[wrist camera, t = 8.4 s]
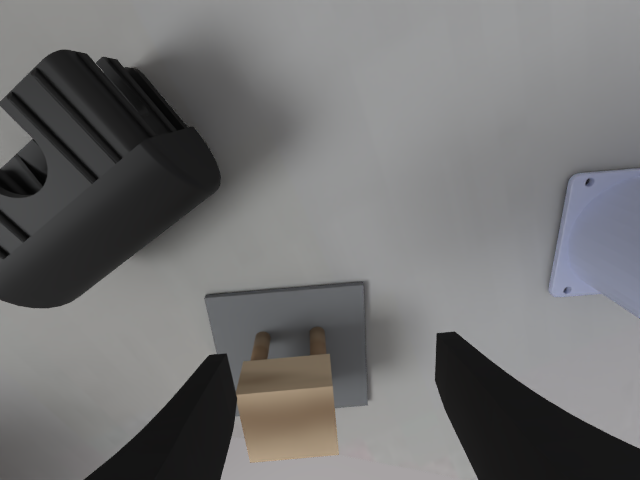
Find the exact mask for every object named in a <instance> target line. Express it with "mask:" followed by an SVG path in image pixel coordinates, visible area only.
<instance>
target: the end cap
mask: <svg viewBox="0 0 640 480" xmlns="http://www.w3.org/2000/svg"><path fill="white" fill-rule="evenodd" d="M96 64H97V65H98V66H99V67H100V68H101V69H102V71H103V72H104V73H103V72H102V71H101V69H100V68H99V67H98V66H97V65H96ZM96 64H95V62H94V61H93V60H92V59H91V58H90V57H89V56H88V54H85V53H81V52H76V51H71V50H59V51H56V52H53V53H51V54H50V55H48V56H47V57H45V58H44V59H43V60H42V61H41V62H40V63H39V64H38V65H37V66H36V67H35V68H34V69H33V70H32V71H31V72H30V73H29V74H28V75H27V76H26V77H25V78H24V79H23V80H22V81H21V82H20V83H19V84H18V85H17V86H16V87H15V88H14V89H13V90H11V91H10V92H9V93H8V94H7V95H6V96H5V97H4V98H3V99H2V100H1V101H0V106H1V107H2V108H3V109H4V110H5V111H6V112H7V113H8V114H9V115H10V116H11V117H12V118H13V119H14V120H15V121H16V122H17V123H18V124H19V125H20V126H21V127H22V128H23V129H24V130H25V131H26V132H27V133H28V134H29V135H30V136H31V137H32V138H33V139H32V140H31V141H30V142H29V143H28V144H27V145H26V146H25V147H24V148H23V149H21V150H20V151H19V152H18V153H17V154H16V155H15V156H14V157H13V158H12V159H11V160H10V161H9V162H8V163H6V164H5V165H4V166H3V167H2V168H1V169H0V300H2V301H5V302H8V303H11V304H15V305H18V306H23V307H29V308H52V307H58V306H62V305H65V304H67V303H70V302H72V301H73V300H75V299H76V298H78V297H79V296H81V295H82V294H83V293H85V292H86V291H87V290H88V289H90V288H91V287H92V286H94V285H95V284H96V283H98V282H99V281H100V280H101V279H103V278H104V277H105V276H107V275H108V274H109V273H110V272H112V271H113V270H114V269H116V268H117V267H118V266H120V265H121V264H122V263H123V262H125V261H126V260H127V259H129V258H130V257H131V256H133V255H134V254H135V253H136V252H138V251H139V250H140V249H142V248H143V247H144V246H145V245H147V244H148V243H149V242H151V241H152V240H153V239H155V238H156V237H157V236H158V235H160V234H161V233H162V232H164V231H165V230H166V229H167V228H169V227H170V226H171V225H173V224H174V223H175V222H177V221H178V220H179V219H180V218H182V217H183V216H184V215H186V214H187V213H188V212H190V211H191V210H192V209H193V208H195V207H196V206H197V205H199V204H200V203H201V202H202V201H204V200H205V199H206V198H208V197H209V196H210V195H212V194H213V193H214V192H215V191H217V189H218V188H219V186H220V180H221V176H220V171H219V168H218V166H217V163H216V161H215V159H214V157H213V155H212V153H211V151H210V150H209V148H208V146H207V145H206V143H205V142H204V140H203V139H202V138H201V136H200V135H199V134H198V132H197V131H196V130H195V129H194V127H189V128H188V127H187V126H186V125H185V124H184V122H183V121H182V120H181V119H180V118H179V116H178V115H177V114H176V113H175V112H174V110H173V109H172V108H171V107H170V106H169V104H168V103H167V102H166V101H165V100H164V98H163V97H162V96H161V95H160V94H159V92H158V91H157V90H156V89H155V88H154V86H153V85H152V84H151V83H150V82H149V80H148V79H147V78H146V77H145V76H144V74H143V73H141V72H140V71H139V70H138V69H134V68H128V67H125V68H124V67H123V66H122V65H121V64H120V63H119V61H118V60H116V59H112V58H107V57H102V58H101V59H100V60H98V61H97V62H96Z"/></svg>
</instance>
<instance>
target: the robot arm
mask: <svg viewBox="0 0 640 480" xmlns="http://www.w3.org/2000/svg"><path fill="white" fill-rule="evenodd" d="M588 178H589V180H590V181H589V183H588V184H587V185H585V182H586V180H587V179H588ZM566 287H567V289H566V290H564V289H565V288H566ZM563 290H564V291H563ZM549 293H550V294H551V295H552V296H554V297H568V296H580V295H592V294H603V295H605V296H606V297H608V298H609V299H611V300H612V301H614V302H615V303H617V304H618V305H620V306H621V307H623V308H624V309H626V310H627V311H629V312H630V313H632V314H633V315H635V316H636V317H638V318H639V319H640V168H634V169H622V170H610V171H598V172H585V173H577V174H574V175H573V176H572V177H571V178H570V179H569V182H568V186H567V192H566V197H565V203H564V208H563V213H562V219H561V224H560V230H559V235H558V240H557V246H556V251H555V257H554V262H553V267H552V273H551V278H550V284H549ZM435 382H436V385H437V388H438V391H439V394H440V397H441V400H442V403H443V405H444V408H445V411H446V413H447V415H448V417H449V419H450V421H451V423H452V425H453V428H454V430H455V432H456V434H457V436H458V438H459V440H460V442H461V444H462V446H463V448H464V450H465V453H466V455H467V457H468V459H469V461H470V463H471V465H472V467H473V469H474V471H475V473H476V475H477V478H478V480H640V449H639V448H637V447H635V446H632V445H630V444H628V443H626V442H624V441H622V440H620V439H618V438H616V437H613V436H611V435H609V434H607V433H605V432H604V431H602V430H600V429H598V428H596V427H594V426H592V425H590V424H588V423H586V422H584V421H582V420H581V419H579V418H577V417H575V416H573V415H571V414H570V413H568V412H566V411H565V410H563V409H561V408H560V407H558V406H556V405H555V404H553V403H551V402H549V401H548V400H546V399H545V398H543V397H541V396H540V395H538V394H537V393H535V392H534V391H532V390H531V389H529V388H528V387H526V386H525V385H523V384H522V383H521V382H519V381H518V380H516V379H515V378H513V377H512V376H511V375H509V374H508V373H506V372H505V371H504V370H502V369H501V368H500V367H498V366H497V365H496V364H495V363H493V362H492V361H491V360H489V359H488V358H487V357H486V356H484V355H483V354H482V353H481V352H479V351H478V350H477V349H476V348H474V347H473V346H472V345H471V344H469V343H468V342H467V341H466V340H464V339H463V338H462V337H461V336H460V335H458V334H457V333H456V332H446V333H437V341H436V368H435ZM236 406H237V395H236V391H235V386H234V382H233V378H232V373H231V369H230V365H229V361H228V356H227V353H224V354H214V355H209V356H208V357H207V358H206V359H205V360H204V361H203V363H202V364H201V365H200V366H199V367H198V369H197V370H196V371H195V372H194V373H193V374H192V376H191V377H190V378H189V379H188V380H187V382H186V383H185V384H184V385H183V386H182V387H181V389H180V390H179V391H178V392H177V393H176V394H175V395H174V396H173V398H172V399H171V400H170V401H169V402H168V403H167V404H166V405H165V407H164V408H163V409H162V410H161V411H160V412H159V413H158V414H157V415H156V416H155V417H154V418H153V419H152V420H151V421H150V422H149V423H148V424H147V425H146V426H145V427H144V428H143V429H142V430H141V431H140V432H139V433H138V434H137V435H136V436H135V437H134V438H133V439H132V440H131V441H129V442H128V443H127V444H126V445H125V446H124V447H123V448H122V449H121V450H119V451H118V452H117V453H116V454H115V455H114V456H113V457H111V458H110V459H109V460H108V461H106V462H105V463H104V464H103V465H102V466H100V467H99V468H98V469H97V470H95V471H94V472H93V473H92V474H90V475H89V476H88V477H87V478H85V479H84V480H220V479H221V475H222V471H223V467H224V463H225V460H226V456H227V452H228V448H229V444H230V440H231V436H232V432H233V428H234V421H235V414H236Z"/></svg>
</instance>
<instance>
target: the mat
mask: <svg viewBox="0 0 640 480" xmlns="http://www.w3.org/2000/svg"><path fill="white" fill-rule="evenodd" d="M204 299H205V303H206V307H207V312H208V316H209V321H210V325H211V330H212V334H213V338H214V343H215V347H216V352H217V354H224V353H227V356H228V361H229V365H230V369H231V373H232V378H233V382H234V386H235V391H236V390H237V386H238V381H239V377H240V373H241V369H242V365H243V361H250V360H251V355H252V351H253V346H254V341H255V337H256V334H257V333H259V332H267V333H268V334H269V335H270V337H271V339H270V346H269V353H268V359H276V358H287V357H298V356H310V330H311V329H312V328H314V327H321V328H323V329H324V331H325V341H326V354H330V362H331V373H332V384H333V395H334V407H335V408H341V407H353V406H365V405H368V400H367V370H366V341H365V311H364V285H363V282H356V283H344V284H332V285H320V286H308V287H296V288H284V289H272V290H260V291H248V292H236V293H224V294H212V295H206V296H205V298H204ZM235 416H240V414H239V410H238V405H237V406H236V414H235Z"/></svg>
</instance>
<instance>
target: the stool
mask: <svg viewBox="0 0 640 480" xmlns="http://www.w3.org/2000/svg"><path fill="white" fill-rule="evenodd" d="M270 339H271V337H270V335H269V334H268V333H267V332H259V333H257V334H256V337H255V341H254V346H253V351H252V355H251V360H250V361H243V365H242V369H241V373H240V377H239V381H238V386H237V390H236V395H237V405H238V410H239V414H240V419H241V423H242V428H243V432H244V437H245V441H246V446H247V450H248V455H249V459H250V463H254V462H265V461H276V460H287V459H298V458H309V457H320V456H331V455H339V451H338V440H337V429H336V418H335V407H334V395H333V384H332V373H331V362H330V354H326V341H325V331H324V329H323V328H321V327H314V328H312V329H311V330H310V356H298V357H287V358H276V359H268V353H269V346H270Z"/></svg>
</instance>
